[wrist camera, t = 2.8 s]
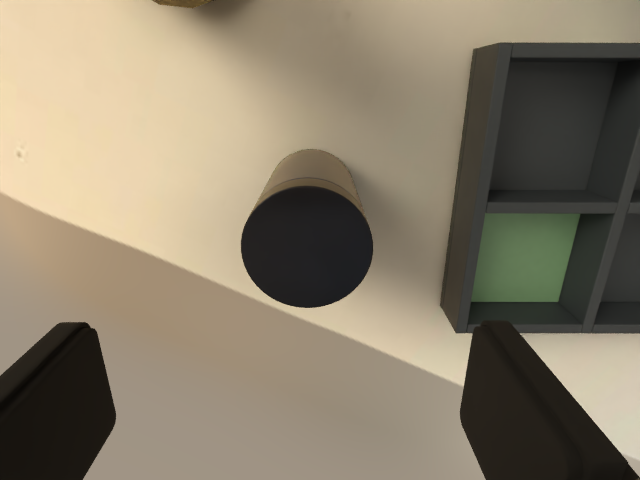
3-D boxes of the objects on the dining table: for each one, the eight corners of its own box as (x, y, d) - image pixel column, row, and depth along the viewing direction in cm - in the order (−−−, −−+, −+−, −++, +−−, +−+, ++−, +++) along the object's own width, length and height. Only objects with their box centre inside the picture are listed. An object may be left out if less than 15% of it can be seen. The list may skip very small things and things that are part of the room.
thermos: (355, 149, 25) (376, 186, 16) (352, 231, 27) (369, 308, 18) (267, 148, 25) (235, 185, 16) (270, 231, 27) (245, 308, 18)
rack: (766, 49, 23) (842, 43, 20) (670, 305, 29) (716, 334, 26) (473, 48, 23) (499, 42, 20) (439, 305, 29) (455, 333, 26)
